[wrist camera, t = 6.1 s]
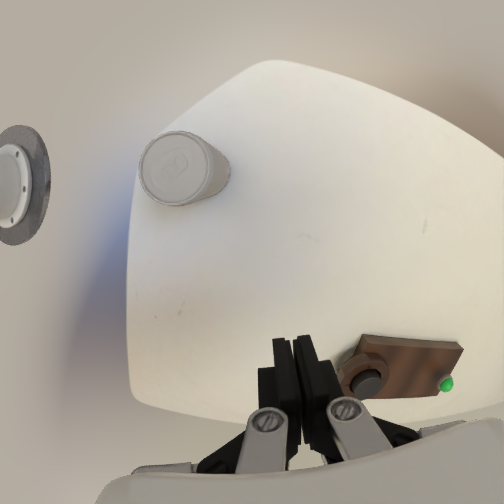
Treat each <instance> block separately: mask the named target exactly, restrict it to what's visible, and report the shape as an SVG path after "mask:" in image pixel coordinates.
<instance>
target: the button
mask: <svg viewBox="0 0 504 504" xmlns="http://www.w3.org/2000/svg"><path fill="white" fill-rule="evenodd" d="M382 385H383V382H382V380H381V378H380V376H379V374H378V373H377V371H375V370H373V369H366V370H363V371H361V372H359V373H358V374H357V375H355V376H354V378H353V379H352V382H351V387H352V390H353V392H354V394H355V396H356V397H357V398H358V399H362V400H364V399H369V398H372V397H373V396H375V395H376V394H377V393H379V391H380V390H381V388H382Z"/></svg>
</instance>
